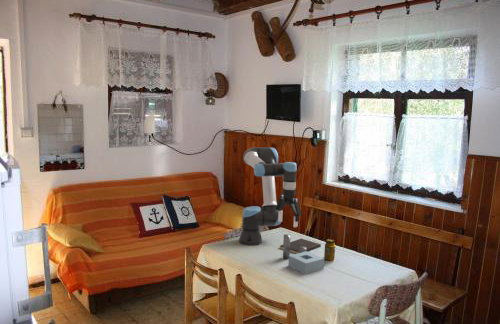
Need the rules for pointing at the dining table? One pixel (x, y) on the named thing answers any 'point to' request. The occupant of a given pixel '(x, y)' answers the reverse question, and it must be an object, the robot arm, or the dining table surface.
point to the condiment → (329, 251)
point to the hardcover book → (302, 242)
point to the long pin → (286, 246)
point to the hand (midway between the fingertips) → (287, 224)
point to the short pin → (303, 249)
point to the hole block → (306, 262)
